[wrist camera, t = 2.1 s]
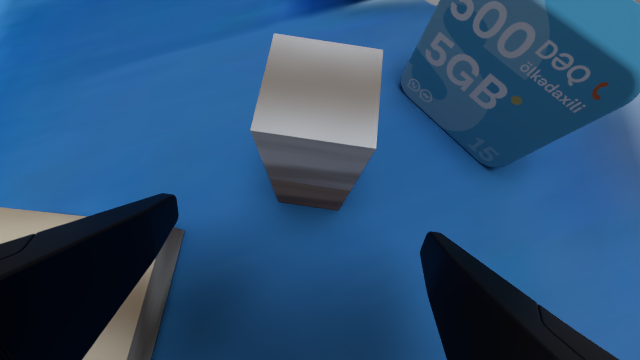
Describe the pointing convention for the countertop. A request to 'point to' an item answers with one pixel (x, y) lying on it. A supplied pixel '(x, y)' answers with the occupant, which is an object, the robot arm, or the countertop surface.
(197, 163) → the countertop surface
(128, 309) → the beige square block
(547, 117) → the data package
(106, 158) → the countertop surface
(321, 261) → the countertop surface
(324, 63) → the gray square block
